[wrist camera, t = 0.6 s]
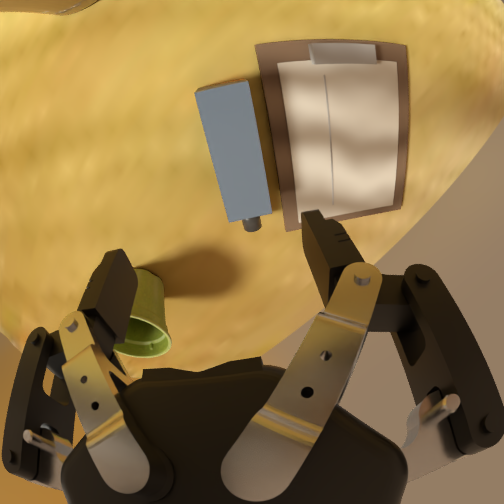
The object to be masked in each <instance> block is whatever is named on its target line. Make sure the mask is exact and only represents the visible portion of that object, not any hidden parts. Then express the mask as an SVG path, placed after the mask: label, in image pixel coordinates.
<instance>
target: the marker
mask: <svg viewBox="0 0 504 504" xmlns="http://www.w3.org/2000/svg"><path fill="white" fill-rule="evenodd" d="M195 97H196V101H197V105H198V109H199V113H200V117H201V120H202V124H203V128H204V132H205V136H206V139H207V143H208V147H209V151H210V154H211V158H212V162H213V166H214V169H215V173H216V177H217V180H218V184H219V188H220V191H221V195H222V199H223V202H224V206H225V209H226V213H227V217H228V220H229V222H234V221H239V220H242V222H243V226H244V229H245V230H246V231H248V232H254V231H257V230H259V229H260V228H261V226H262V225H261V220H260V216H262V215H267V214H272V209H271V203H270V197H269V191H268V185H267V179H266V173H265V168H264V162H263V156H262V151H261V145H260V140H259V134H258V129H257V124H256V119H255V113H254V108H253V103H252V98H251V93H250V88H249V83H248V81H247V80H245V79H238V80H233V81H228V82H223V83H219V84H215V85H210V86H206V87H202V88H198V89H197V91H196V92H195Z"/></svg>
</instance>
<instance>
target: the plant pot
mask: <svg viewBox="0 0 504 504" xmlns="http://www.w3.org/2000/svg"><path fill="white" fill-rule="evenodd" d="M134 270H135V272H136V274H137V278H138V288H137V292H136V295H135V299H134V303H133V307H132V311H131V315H130V319H129V324H128V328H127V332H126V337H125V342H124V343H123V344H114V347H113V349H114V350H115V351H116V352H118V353H121V354H124V355H127V356H131V357H138V358H152V357H157V356H161V355H163V354H165V353H166V352H168V351H169V349H170V348H171V344H172V341H171V337H170V335H169V333H168V329H167V326H166V322H165V308H164V285H163V283H162V281H161V279H160V278H159V277H157V276H155V275H153V274H152V273H150V272H149V271H147V270H144V269H134Z"/></svg>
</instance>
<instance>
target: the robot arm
mask: <svg viewBox="0 0 504 504" xmlns="http://www.w3.org/2000/svg"><path fill="white" fill-rule="evenodd" d="M96 1H97V0H0V12H29V13H43V14H54V15H69V14H72V13H76V12H78V11H80V10H83V9H85V8H87V7H88V6H90V5H91V4H93V3H95V2H96ZM301 227H302V242H303V249H304V253H305V256H306V259H307V261H308V264H309V267H310V269H311V272H312V274H313V277H314V279H315V282H316V285H317V287H318V290H319V293H320V295H321V298H322V301H323V304H324V306H325V311H324V312H323V313H322V312H319V313H318V314H317V316H316V317H315V319H314V321H313V323H312V325H311V327H310V329H309V331H308V332H307V334H306V336H305V338H304V340H303V342H302V344H301V345H300V347H299V349H298V351H297V352H296V354H295V356H294V358H293V359H292V361H291V363H290V365H289V366H288V368H287V369H284V368H281V367H277V366H272V365H263V362H262V359H261V357H255V358H249V359H242V360H235V361H229V362H226V363H224V364H221V365H218V366H215V367H213V368H210V369H207V370H204V371H201V372H192V371H185V370H179V369H173V368H157V369H143V375H142V378H141V379H138V380H136V381H134V382H133V380H132V379H131V377H130V376H129V374H128V372H127V370H126V369H125V367H124V365H123V363H122V362H121V360H120V358H119V356H118V354H117V353H116V351H115V350H114V349H113V347H114V344H123V343H124V342H125V337H126V332H127V328H128V324H129V319H130V315H131V311H132V307H133V303H134V299H135V295H136V292H137V288H138V278H137V274H136V272H135V270H134V269H133V267H132V265H131V263H130V261H129V259H128V257H127V256H126V254H125V252H124V251H123V250H122V249H117V250H112V251H108V252H106V253H105V255H104V257H103V259H102V262H101V264H100V265H99V266H98V267H97V268H96V269H95V271H94V272H93V273H92V276H91V278H90V280H89V281H90V282H88V285H87V287H86V288H87V289H85V292H84V294H83V297H82V299H81V302H80V304H79V307H78V309H77V311H74V312H72V313H70V314H68V315H67V316H66V317H65V318H64V319H63V320H62V322H61V324H60V327H59V330H57V331H55V332H53V333H50V334H49V333H48V332H47V331H46V329H45V328H43V327H38V328H36V329H34V330H33V331H32V332H31V334H30V335H29V337H28V339H27V341H26V344H25V347H24V350H23V353H22V356H21V359H20V363H19V366H18V370H17V373H16V377H15V380H14V384H13V389H12V393H11V397H10V401H9V406H8V412H7V417H6V423H5V430H4V437H3V446H2V461H3V464H4V467H5V468H6V470H7V471H8V472H9V473H12V474H14V475H16V476H19V477H21V478H24V479H25V480H27V481H30V482H33V483H35V484H39V485H42V486H45V487H51V488H54V489H58V490H62V491H63V492H64V494H65V497H66V499H67V502H68V504H400V503H401V499H402V496H403V493H404V490H405V487H406V484H407V483H408V482H410V481H412V480H415V479H417V478H420V477H422V476H424V475H427V474H429V473H431V472H433V471H435V470H437V469H439V468H441V467H443V466H445V465H447V464H449V463H451V462H454V461H457V460H460V459H463V458H465V457H468V456H470V455H473V454H476V453H478V452H480V451H483V450H485V449H487V448H489V447H491V446H494V445H495V444H496V443H497V442H499V440H500V439H501V438H502V436H503V434H504V406H503V403H502V400H501V397H500V395H499V392H498V389H497V387H496V384H495V382H494V379H493V377H492V374H491V372H490V369H489V367H488V365H487V362H486V360H485V358H484V356H483V354H482V352H481V350H480V348H479V346H478V343H477V341H476V339H475V337H474V335H473V334H472V332H471V330H470V328H469V326H468V324H467V322H466V320H465V318H464V317H463V315H462V313H461V311H460V310H459V308H458V306H457V304H456V303H455V301H454V299H453V298H452V296H451V294H450V293H449V291H448V290H447V288H446V286H445V285H444V283H443V282H442V280H441V278H440V277H439V275H438V274H437V273H436V271H435V270H433V269H432V268H430V267H429V266H426V265H422V264H414V265H411V266H409V267H408V268H407V269H406V271H405V273H404V275H385V274H381V272H380V271H379V269H378V268H376V267H375V266H374V265H371V264H369V263H365V261H364V259H363V258H362V256H361V254H360V253H359V251H358V250H357V248H356V246H355V245H354V243H353V242H352V240H351V238H350V237H349V235H348V234H347V233H346V231H345V229H344V228H343V226H342V224H340V223H338V222H337V221H335V220H334V219H327V220H325V218H324V217H323V215H322V214H321V212H320V210H319V209H316V210H310V211H305V212H301ZM370 331H371V332H390V333H391V335H392V338H393V340H394V343H395V345H396V348H397V350H398V353H399V356H400V359H401V361H402V364H403V367H404V370H405V373H406V376H407V379H408V382H409V385H410V388H411V391H412V394H413V397H414V400H415V404H416V407H415V408H414V409H413V410H412V411H411V412H410V414H409V416H408V419H407V437H406V440H405V442H404V444H403V446H402V447H401V448H399V447H398V446H397V445H396V444H395V443H394V442H392V441H391V440H389V439H388V438H386V437H385V436H383V435H382V434H380V433H379V432H377V431H375V430H374V429H373V428H371V427H370V426H368V425H367V424H365V423H364V422H362V421H361V420H359V419H358V418H356V417H355V416H353V415H352V414H351V413H349V412H348V411H346V410H345V409H343V408H342V407H341V406H339V403H340V401H341V399H342V397H343V395H344V392H345V390H346V388H347V385H348V383H349V381H350V378H351V376H352V373H353V370H354V368H355V366H356V363H357V360H358V358H359V355H360V353H361V350H362V348H363V345H364V342H365V339H366V336H367V334H368V332H370ZM46 367H47V368H48V369H49V370H50V371H51V372H52V373H54V374H55V375H54V379H53V384H52V389H51V394H50V396H48V395H47V394H46V393H45V392H44V390H43V379H44V375H45V371H46ZM76 411H77V414H78V417H79V419H80V422H81V424H82V426H83V428H84V431H85V433H86V434H85V435H84V437H83V438H82V439H81V440H80V442H79V443H78V444H77V445H76V447H75V448H74V449H73V447H72V444H73V431H74V421H75V412H76Z"/></svg>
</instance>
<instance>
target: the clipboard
mask: <svg viewBox="0 0 504 504" xmlns="http://www.w3.org/2000/svg"><path fill="white" fill-rule="evenodd" d="M255 49H256V54H257V59H258V64H259V69H260V74H261V80H262V85H263V90H264V96H265V101H266V107H267V112H268V118H269V124H270V130H271V136H272V142H273V148H274V154H275V161H276V167H277V174H278V180H279V187H280V194H281V201H282V208H283V216H284V223H285V230H286V232H288V231H293V230H298V229H302V227H301V212H305V211H310V210H316V209H319V210H320V212H321V214H322V215H323V217H324V218H325V220H327V219H334V220H335V221H342V220H347V219H352V218H357V217H363V216H368V215H373V214H378V213H383V212H388V211H393V210H399V209H401V204H402V196H403V189H404V180H405V170H406V159H407V144H408V118H409V96H408V70H407V57H406V46H405V45H400V44H393V43H384V42H375V41H362V40H336V39H323V40H297V41H284V42H273V43H265V44H257V45H255Z"/></svg>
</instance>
